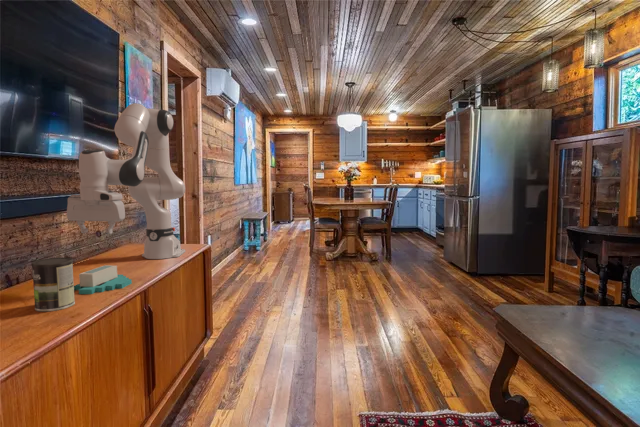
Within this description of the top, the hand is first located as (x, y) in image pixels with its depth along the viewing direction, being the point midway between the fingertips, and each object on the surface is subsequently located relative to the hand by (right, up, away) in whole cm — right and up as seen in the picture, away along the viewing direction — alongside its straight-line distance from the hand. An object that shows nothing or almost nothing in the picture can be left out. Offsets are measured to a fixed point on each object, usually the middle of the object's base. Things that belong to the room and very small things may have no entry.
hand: (96, 233), depth 138 cm
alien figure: (0, -20, +1) cm, 20 cm away
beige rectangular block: (0, -18, +1) cm, 18 cm away
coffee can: (0, -21, -21) cm, 30 cm away
